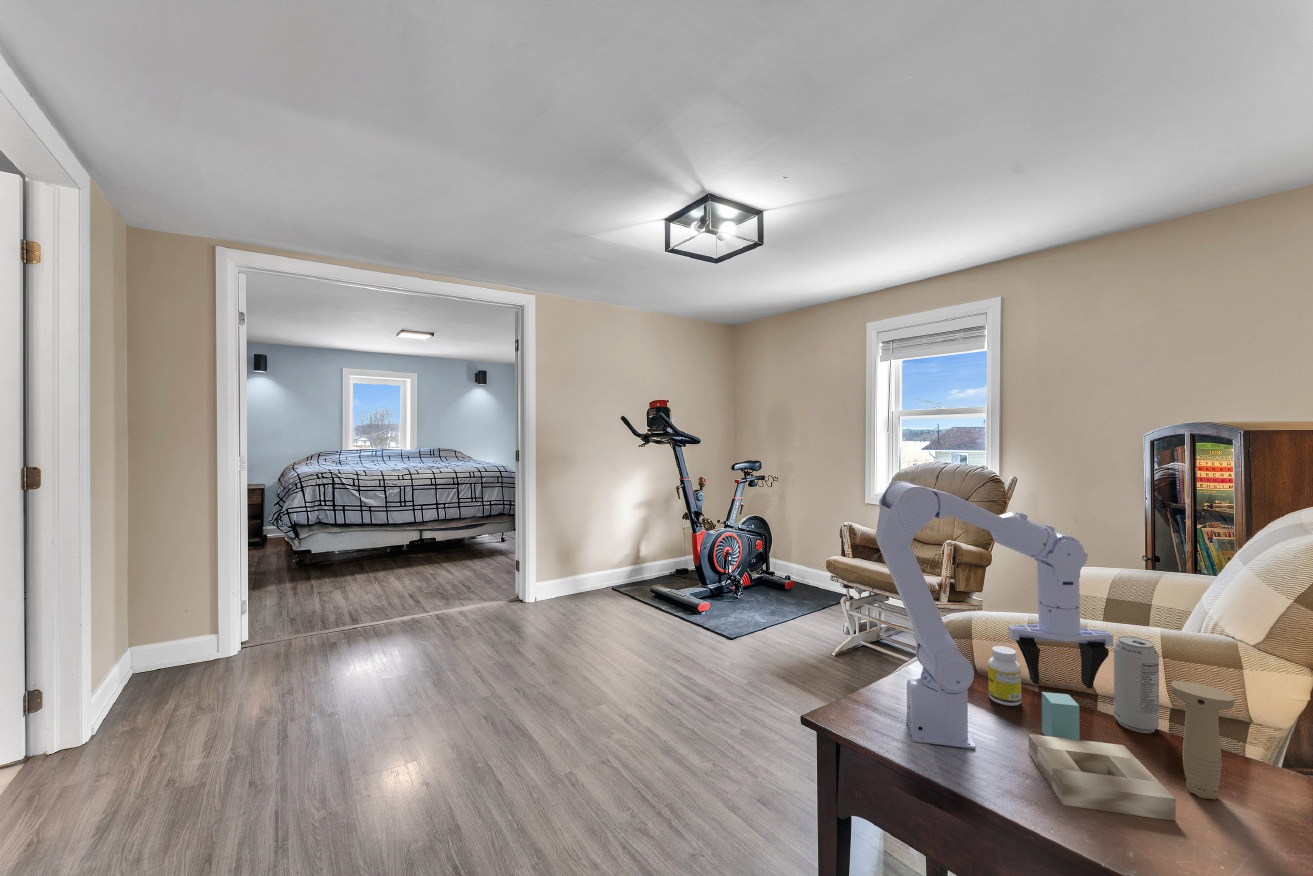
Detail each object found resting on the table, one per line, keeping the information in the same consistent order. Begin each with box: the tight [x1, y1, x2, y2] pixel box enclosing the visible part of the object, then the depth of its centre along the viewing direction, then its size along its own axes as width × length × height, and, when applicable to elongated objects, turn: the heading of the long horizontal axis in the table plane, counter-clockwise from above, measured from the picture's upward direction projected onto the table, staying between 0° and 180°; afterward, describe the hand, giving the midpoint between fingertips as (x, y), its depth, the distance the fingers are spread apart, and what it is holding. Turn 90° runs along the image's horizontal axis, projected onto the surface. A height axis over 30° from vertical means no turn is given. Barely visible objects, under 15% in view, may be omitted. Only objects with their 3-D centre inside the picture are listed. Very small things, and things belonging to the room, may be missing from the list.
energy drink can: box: [1113, 635, 1160, 734], centre depth 98 cm, size 6×6×15 cm
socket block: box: [1028, 733, 1177, 822], centre depth 83 cm, size 13×13×3 cm
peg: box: [1041, 691, 1080, 740], centre depth 94 cm, size 4×4×7 cm
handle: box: [1170, 680, 1235, 801], centre depth 80 cm, size 5×6×15 cm
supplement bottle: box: [987, 645, 1022, 707], centre depth 108 cm, size 5×5×10 cm
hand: (1060, 683), depth 94 cm, fingers open, 7 cm apart
